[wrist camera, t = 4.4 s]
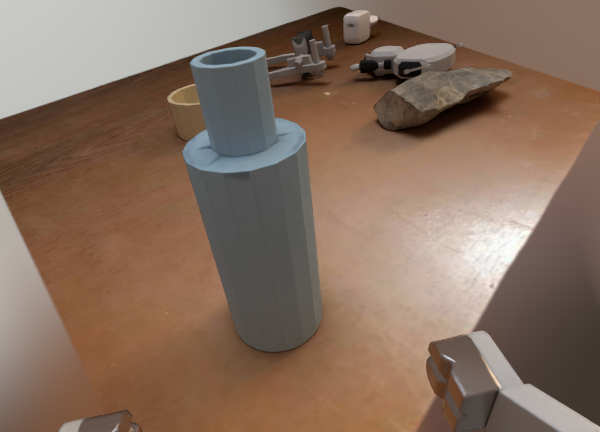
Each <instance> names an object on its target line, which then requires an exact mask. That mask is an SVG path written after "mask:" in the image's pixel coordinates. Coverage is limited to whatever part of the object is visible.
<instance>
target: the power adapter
mask: <svg viewBox="0 0 600 432" xmlns="http://www.w3.org/2000/svg"><path fill="white" fill-rule="evenodd" d="M378 19H380V16H377V17H376V16H370V13H369V11H364V10H362V11H361V10H358V11H353V12H351V13H348V14H346V15H345V16H344V41H345V43H348V44H360V43H362V42H363V41H365V40H367V39H368V38H369V36H370V27H371V26H373V25H375V24H376V23H377V21H378Z"/></svg>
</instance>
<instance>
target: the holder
mask: <svg viewBox="0 0 600 432" xmlns="http://www.w3.org/2000/svg"><path fill="white" fill-rule="evenodd" d="M167 100H168V103H169V106H170V110H171V113H172V116H173V119H174V123H175V126H176V129H177V132H178V135H179V137H180V138H182V139H184V140H187V141H190V140H191V139H192V138H194V137H195V136H196V135H198V134H199V133H200V132H202V131H204V130H207V129H206V125H205V121H204V117H203V113H202V109H201V105H200V101H199V97H198V93H197V89H196V85H195V84H193V85H189V86H186V87H183V88H180V89H178V90H176V91H174V92H172V93H171V94H170V95H169V96H168V98H167Z"/></svg>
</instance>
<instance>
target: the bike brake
mask: <svg viewBox="0 0 600 432" xmlns="http://www.w3.org/2000/svg"><path fill="white" fill-rule="evenodd" d="M322 30H323V35H324V40H325V46H326V47H324V45H323V41H320V42H316V41H315V39H313V37H312V33H311V30H308V31H303V32H299V33H297V36H298V37H294V38H291V39H292V44H293V48H294V52H295V53H291V54H285V55H280V56H275V57H271V58H267V65H271V64H275V63H279V62H284V61H287V63H288V67H286V68H283V69H280V70H276V71H273V72H269V80H273V79H277V78H281V77H286V76H290V75H295V74H300V76H301V78H307V77H312V76H315V75H316V76H317V78H320V77H322V76H323V73H324V69H326V68H327V66H326V62H325V61H320V60H319V56H324V55H326V58H327V59H328V60H329V61H331V60H333V59H334V56H335V52H336V49H335V45H331V41H330V36H329V31H328V26H327V25H325V26H322Z"/></svg>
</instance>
